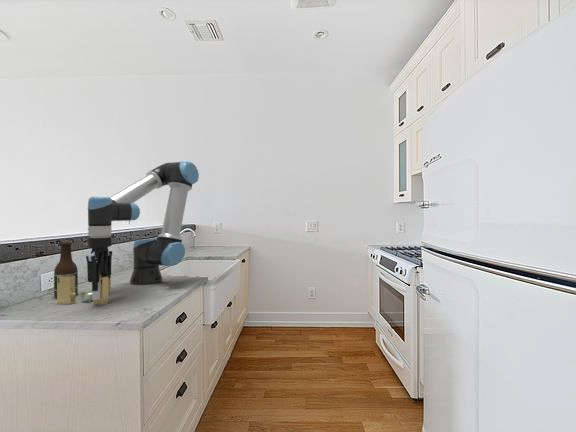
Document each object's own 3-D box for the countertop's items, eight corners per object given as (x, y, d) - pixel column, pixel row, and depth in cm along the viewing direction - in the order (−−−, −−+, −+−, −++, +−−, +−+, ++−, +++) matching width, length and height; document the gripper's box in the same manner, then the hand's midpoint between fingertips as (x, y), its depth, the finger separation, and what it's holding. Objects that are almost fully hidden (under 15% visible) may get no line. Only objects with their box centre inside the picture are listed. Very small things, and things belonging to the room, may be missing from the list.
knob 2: (93, 303, 109) (93, 276, 109) (98, 301, 111) (98, 275, 111) (102, 305, 106) (102, 277, 106) (108, 303, 109) (108, 276, 108)
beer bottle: (64, 302, 113) (64, 243, 113) (49, 301, 115) (48, 242, 115) (82, 297, 121) (82, 241, 121) (67, 295, 122) (67, 240, 122)
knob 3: (101, 296, 118) (101, 271, 118) (96, 296, 118) (96, 271, 118) (110, 292, 123) (110, 268, 123) (105, 292, 123) (105, 268, 123)
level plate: (121, 293, 127) (121, 281, 127) (120, 306, 109) (120, 293, 109) (63, 299, 117) (63, 287, 117) (50, 316, 98) (50, 301, 98)
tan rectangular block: (75, 302, 110) (75, 275, 110) (70, 304, 107) (70, 276, 107) (62, 301, 110) (62, 275, 110) (57, 303, 108) (57, 276, 108)
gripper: (102, 234, 116) (102, 290, 117) (74, 239, 100) (75, 304, 100) (121, 234, 117) (121, 290, 118) (97, 239, 100) (97, 304, 101)
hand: (100, 296), depth 109 cm, fingers closed on knob 2, 4 cm apart
